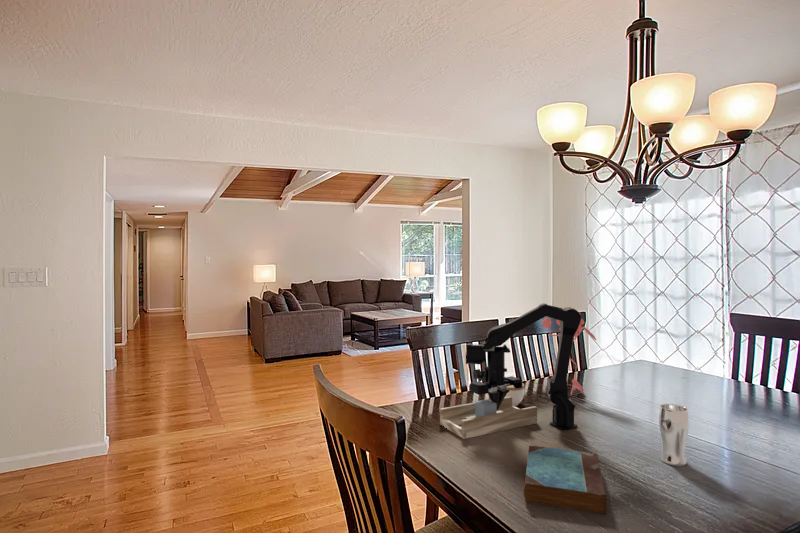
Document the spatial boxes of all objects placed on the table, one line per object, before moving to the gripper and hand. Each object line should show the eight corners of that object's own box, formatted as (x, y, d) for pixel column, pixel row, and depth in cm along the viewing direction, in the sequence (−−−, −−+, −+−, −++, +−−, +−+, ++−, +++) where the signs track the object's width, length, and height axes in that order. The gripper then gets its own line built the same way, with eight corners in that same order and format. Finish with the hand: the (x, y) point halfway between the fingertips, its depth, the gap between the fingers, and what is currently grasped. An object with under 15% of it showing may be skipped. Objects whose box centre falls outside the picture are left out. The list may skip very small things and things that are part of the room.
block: (496, 418, 157) (496, 403, 157) (484, 420, 155) (484, 405, 155) (487, 413, 162) (487, 399, 162) (475, 416, 160) (475, 401, 159)
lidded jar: (522, 399, 186) (522, 376, 186) (526, 408, 175) (526, 383, 175) (494, 399, 187) (494, 375, 187) (497, 407, 176) (497, 382, 176)
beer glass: (661, 454, 134) (662, 401, 134) (690, 460, 130) (690, 406, 129) (656, 462, 129) (656, 407, 128) (686, 469, 124) (686, 413, 124)
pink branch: (588, 400, 184) (589, 311, 184) (534, 386, 205) (535, 306, 205) (609, 394, 194) (610, 309, 194) (554, 381, 214) (555, 304, 214)
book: (606, 517, 103) (606, 494, 102) (523, 504, 108) (523, 483, 108) (597, 471, 124) (597, 453, 124) (528, 463, 130) (528, 445, 130)
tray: (537, 423, 159) (537, 407, 159) (463, 438, 146) (463, 421, 146) (509, 411, 172) (509, 396, 172) (440, 424, 159) (439, 408, 158)
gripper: (502, 357, 171) (502, 399, 172) (459, 362, 163) (460, 407, 164) (523, 363, 161) (523, 408, 162) (478, 369, 153) (479, 417, 154)
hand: (496, 410), depth 160 cm, fingers closed
